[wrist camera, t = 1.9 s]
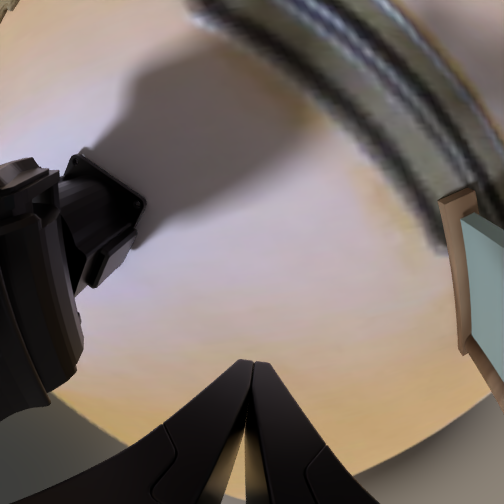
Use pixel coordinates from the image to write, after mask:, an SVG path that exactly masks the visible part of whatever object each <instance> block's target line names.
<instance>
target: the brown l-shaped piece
mask: <svg viewBox="0 0 504 504" xmlns="http://www.w3.org/2000/svg"><path fill="white" fill-rule="evenodd" d="M438 205H439V209H440V213H441V218H442V222H443V227H444V232H445V237H446V242H447V248H448V253H449V259H450V266H451V272H452V280H453V288H454V296H455V306H456V318H457V333H458V349H459V351H460V353H461V354H462V356H464V355H465V354H467V353H469V355H470V357H471V358H472V360H473V361H474V363H475V365H476V366H477V368H478V369H479V371H480V373H481V374H482V376H483V378H484V379H485V381H486V383H487V385H488V386H489V388H490V390H491V391H492V393H493V395H494V397H495V399H496V400H497V402H498V404H499V406H500V408H501V410H502V411H503V413H504V382H503V380H502V379H501V377H500V376H499V374H498V373H497V371H496V369H495V368H494V366H493V365H492V363H491V362H490V360H489V359H488V357H487V356H486V354H485V353H484V351H483V350H482V349H481V347H480V346H479V344H478V343H477V341H476V340H475V339H474V337H473V336H472V322H471V301H470V287H469V276H468V267H467V259H466V251H465V244H464V238H463V232H462V226H461V220H460V219H461V218H464V217H466V216H468V215H470V214H472V213H476V214H478V215H479V210H478V204H477V199H476V193H475V191H474V190H472V189H469V188H465V189H463V190H461V191H459V192H456V193H454V194H452V195H449V196H447V197H445V198H443V199H440V200H438Z"/></svg>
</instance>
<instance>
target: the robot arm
mask: <svg viewBox="0 0 504 504" xmlns="http://www.w3.org/2000/svg"><path fill="white" fill-rule="evenodd" d="M76 159H77V160H78V164H76ZM136 201H139V203H140V207H138V206H137V205H136ZM145 208H146V200H145V199H144V198H143V197H142V196H141V195H139V194H138V193H136V192H135V191H133V190H132V189H131V188H129V187H128V186H126V185H125V184H123V183H122V182H120V181H119V180H117V179H116V178H114V177H113V176H111V175H110V174H109V173H107V172H106V171H104V170H103V169H101V168H100V167H98V166H97V165H95V164H94V163H92V162H91V161H90V160H88V159H87V158H85V157H84V156H82V155H81V154H75V155H73V156H71V158H70V160H69V163H68V165H67V168H66V171H65V173H64V176H61V177H60V174H59V170H49V169H48V168H41V167H39V166H38V164H37V163H36V162H35V160H34V159H33V157H30V158H23V159H19V160H15V161H12V162H8V163H5V164H2V165H0V421H2V420H3V419H5V418H6V417H8V416H10V415H12V414H14V413H16V412H19V411H22V410H25V409H28V408H33V407H44V406H49V405H50V404H51V400H50V398H49V397H48V395H47V393H48V392H51V391H53V390H54V389H56V388H57V387H59V386H61V385H62V384H64V383H65V382H67V381H68V380H69V379H70V378H71V377H72V376H73V375H74V374H75V373H76V371H77V367H76V364H77V363H78V360H79V358H80V356H81V354H82V352H83V347H84V336H83V332H82V329H81V325H80V324H81V318H80V314H79V312H77V308H76V303H75V299H74V298H75V297H76V296H77V295H78V294H79V293H80V292H81V291H82V290H83V289H84V288H85V287H86V286H87V285H88V286H90V287H91V288H97V287H98V286H99V285H100V284H101V283H102V282H103V281H104V280H105V279H106V278H107V277H108V276H109V275H110V274H111V273H112V272H113V271H114V270H115V269H116V268H117V267H118V266H119V265H120V264H122V263H123V262H124V260H125V258H126V256H127V254H128V252H129V250H130V248H131V246H132V244H133V242H134V240H135V238H136V236H137V230H136V229H135V227H136V225H137V223H138V221H139V219H140V217H141V215H142V213H143V211H144V209H145ZM253 366H254V367H253ZM252 374H253V375H252ZM246 417H247V418H246ZM245 423H246V425H245ZM244 429H245V485H246V504H380V503H379V502H378V501H377V500H375V498H374V497H373V496H371V495H370V494H369V493H368V492H367V491H366V490H365V489H364V488H363V487H362V486H361V485H360V484H359V483H358V482H357V480H356V479H355V478H354V477H353V476H352V475H351V474H350V473H349V472H348V471H347V470H346V468H345V467H344V466H343V465H342V463H341V462H340V461H339V460H338V458H337V457H336V456H335V455H334V453H333V452H332V451H331V449H330V448H329V446H328V445H326V443H325V442H324V440H323V439H322V438H321V436H320V435H319V433H318V432H317V431H316V429H315V428H314V426H313V425H312V424H311V422H310V421H309V419H308V418H307V417H306V415H305V414H304V412H303V411H302V409H301V408H300V407H299V405H298V404H297V402H296V401H295V399H294V398H293V397H292V395H291V394H290V392H289V391H288V389H287V388H286V386H285V385H284V383H283V382H282V381H281V379H280V378H279V376H278V375H277V373H276V372H275V370H274V369H273V367H272V366H271V364H270V363H267V362H259V361H256V362H255V363H254V362H253V361H251V360H243V359H239V360H237V361H236V362H235V363H234V364H233V365H232V366H231V367H229V368H228V369H227V370H226V371H225V372H224V373H223V374H221V375H220V376H219V377H218V378H217V379H216V380H214V381H213V382H212V383H211V384H210V385H209V386H207V387H206V388H205V389H204V390H203V391H202V392H200V393H199V394H198V395H197V396H196V397H194V398H193V399H192V400H191V401H190V402H188V403H187V404H186V405H185V406H184V407H182V408H181V409H180V410H179V411H177V412H176V413H175V414H174V415H172V416H171V417H170V418H169V419H167V420H166V421H165V422H164V423H163V424H160V425H159V426H158V427H157V428H155V429H154V430H153V431H151V432H150V433H149V434H147V435H146V436H145V437H143V438H142V439H140V440H139V441H138V442H136V443H135V444H133V445H131V446H130V447H128V448H127V449H125V450H123V451H122V452H120V453H118V454H116V455H115V456H113V457H111V458H109V459H107V460H105V461H103V462H101V463H99V464H98V465H95V466H94V467H91V468H90V469H88V470H86V471H83V472H81V473H80V474H77V475H75V476H73V477H71V478H69V479H67V480H65V481H63V482H60V483H58V484H56V485H54V486H52V487H49V488H47V489H45V490H42V491H40V492H38V493H35V494H33V495H31V496H28V497H26V498H23V499H21V500H18V501H16V502H13V503H10V504H221V501H222V499H223V496H224V493H225V490H226V487H227V484H228V481H229V478H230V475H231V472H232V469H233V466H234V463H235V460H236V456H237V453H238V450H239V447H240V444H241V441H242V437H243V434H244Z"/></svg>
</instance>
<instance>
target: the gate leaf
mask: <svg viewBox="0 0 504 504" xmlns="http://www.w3.org/2000/svg"><path fill="white" fill-rule="evenodd" d="M460 220H461V226H462V232H463V238H464V244H465V251H466V259H467V267H468V276H469V287H470V301H471V322H472V336H473V337H474V339H475V340H476V341H477V343H478V344H479V346H480V347H481V349H482V350H483V351H484V353H485V354H486V356H487V357H488V359H489V360H490V362H491V363H492V365H493V366H494V368H495V369H496V371H497V373H498V374H499V376H500V377H501V379H502V380H503V382H504V230H503V229H501V228H500V227H498V226H497V225H495V224H493V223H492V222H490V221H488V220H486V219H485V218H483V217H481V216H480V215H478V214H476V213H472V214H470V215H468V216H466V217H464V218H461V219H460Z"/></svg>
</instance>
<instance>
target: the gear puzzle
mask: <svg viewBox="0 0 504 504" xmlns="http://www.w3.org/2000/svg"><path fill="white" fill-rule="evenodd" d="M18 2H19V0H0V23H1V21H2V19H3V17H4V15H5V13H6V11H7V10H9V11H13V10H14V8H15V7H16V5H17V3H18Z"/></svg>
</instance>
